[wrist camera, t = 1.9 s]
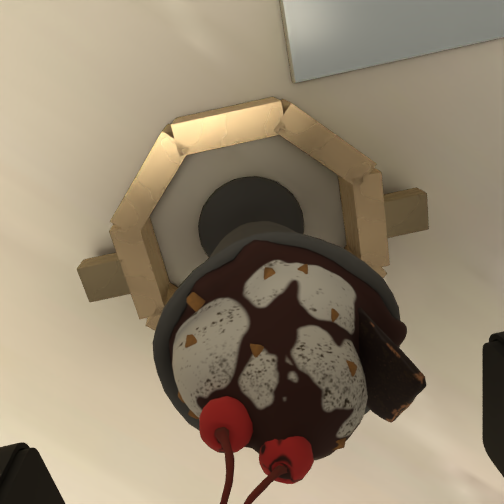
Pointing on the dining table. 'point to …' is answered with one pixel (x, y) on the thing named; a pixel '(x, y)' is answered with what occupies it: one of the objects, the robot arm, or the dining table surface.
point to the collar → (230, 133)
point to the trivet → (380, 31)
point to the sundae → (279, 337)
